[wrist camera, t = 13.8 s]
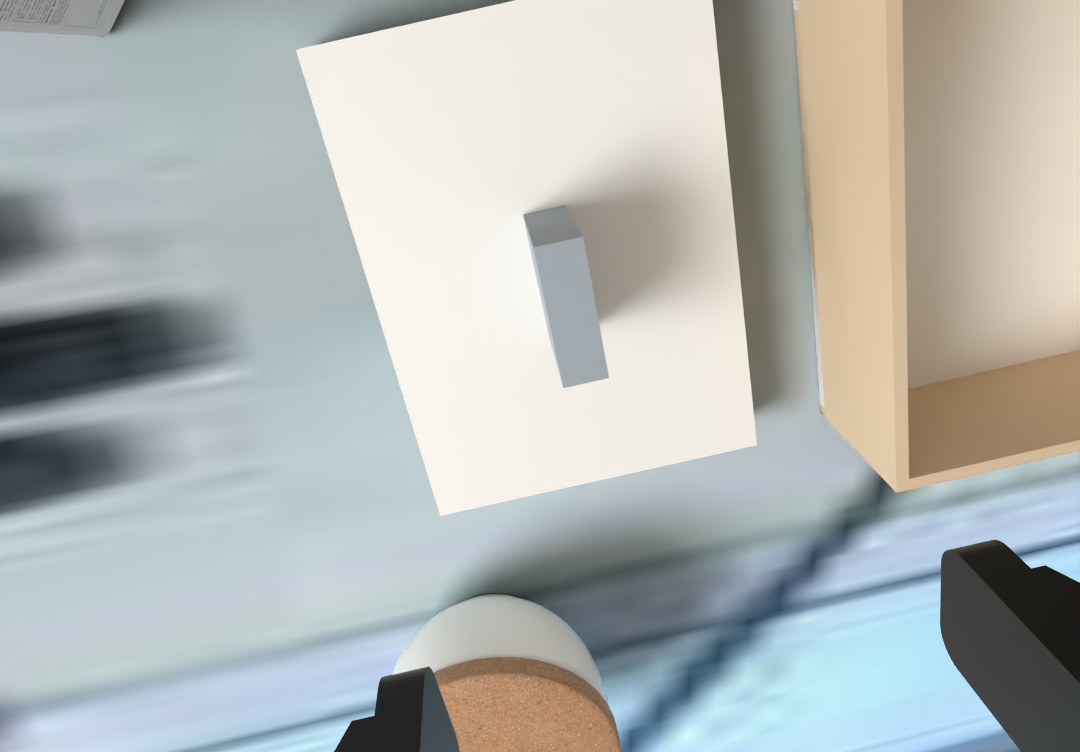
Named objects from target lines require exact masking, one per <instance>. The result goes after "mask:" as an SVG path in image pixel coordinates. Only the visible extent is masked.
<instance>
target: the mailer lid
mask: <svg viewBox="0 0 1080 752" xmlns="http://www.w3.org/2000/svg"><path fill="white" fill-rule="evenodd" d="M296 51H297V55H298V58H299V61H300V64H301V68H302V71H303V74H304V77H305V80H306V84H307V87H308V90H309V93H310V97H311V100H312V103H313V106H314V110H315V113H316V116H317V119H318V122H319V126H320V129H321V132H322V135H323V139H324V142H325V145H326V148H327V152H328V155H329V158H330V161H331V164H332V168H333V171H334V174H335V177H336V181H337V184H338V187H339V190H340V193H341V197H342V200H343V203H344V206H345V210H346V213H347V216H348V219H349V223H350V226H351V229H352V232H353V235H354V239H355V242H356V245H357V248H358V252H359V255H360V258H361V261H362V265H363V268H364V271H365V274H366V277H367V281H368V284H369V287H370V290H371V294H372V297H373V300H374V303H375V306H376V310H377V313H378V316H379V319H380V323H381V326H382V329H383V332H384V336H385V339H386V342H387V345H388V348H389V352H390V355H391V358H392V361H393V365H394V368H395V371H396V374H397V378H398V381H399V384H400V387H401V390H402V394H403V397H404V400H405V403H406V407H407V410H408V413H409V416H410V419H411V423H412V426H413V429H414V432H415V436H416V439H417V442H418V445H419V449H420V452H421V455H422V458H423V461H424V465H425V468H426V471H427V474H428V478H429V481H430V484H431V487H432V490H433V494H434V497H435V500H436V503H437V507H438V510H439V513H440V516H442V515H446V514H451V513H455V512H460V511H464V510H469V509H473V508H478V507H482V506H487V505H491V504H496V503H500V502H505V501H509V500H514V499H518V498H522V497H527V496H531V495H536V494H540V493H545V492H549V491H554V490H558V489H563V488H567V487H572V486H576V485H581V484H585V483H590V482H594V481H599V480H603V479H608V478H612V477H617V476H621V475H625V474H630V473H634V472H639V471H643V470H648V469H652V468H657V467H661V466H666V465H670V464H675V463H679V462H684V461H688V460H693V459H697V458H702V457H706V456H711V455H715V454H720V453H724V452H728V451H733V450H737V449H742V448H746V447H751V446H755V445H757V441H756V431H755V421H754V411H753V401H752V391H751V381H750V371H749V361H748V351H747V341H746V331H745V321H744V311H743V301H742V291H741V281H740V271H739V261H738V251H737V241H736V231H735V221H734V211H733V201H732V191H731V181H730V171H729V161H728V151H727V141H726V131H725V121H724V111H723V101H722V91H721V81H720V71H719V61H718V51H717V41H716V31H715V20H714V10H713V0H514V1H510V2H506V3H501V4H497V5H492V6H488V7H483V8H479V9H474V10H470V11H465V12H461V13H457V14H452V15H448V16H443V17H439V18H434V19H430V20H425V21H421V22H417V23H412V24H408V25H403V26H399V27H394V28H390V29H385V30H381V31H377V32H372V33H368V34H363V35H359V36H354V37H350V38H345V39H341V40H336V41H332V42H328V43H323V44H319V45H314V46H310V47H305V48H301V49H296Z"/></svg>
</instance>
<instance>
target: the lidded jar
mask: <svg viewBox="0 0 1080 752" xmlns="http://www.w3.org/2000/svg"><path fill="white" fill-rule="evenodd" d="M424 667H430V668H431V669H432V671H433V673H434V675H435V678H436V681H437V684H438V686H439V689H440V692H441V695H442V697H443V700H444V703H445V706H446V708H447V711H448V714H449V717H450V719H451V722H452V725H453V728H454V730H455V733H456V737H457V740H458V745H459V750H460V752H621V749H620V740H619V735H618V731H617V727H616V723H615V720H614V716H613V714H612V712H611V710H610V707H609V703H608V699H607V696H606V692H605V688H604V684H603V681H602V679H601V676H600V674H599V671H598V669H597V666H596V664H595V662H594V660H593V658H592V656H591V654H590V653H589V651H588V649H587V647H586V645H585V644H584V642H583V641H582V640H581V639H580V637H579V636H578V635H577V633H576V632H575V631H574V630H573V629H572V628H571V627H570V626H569V625H568V624H567V623H566V622H565V621H564V620H563V619H562V618H561V617H559V616H557V615H556V614H554V613H553V612H551V611H550V610H548V609H547V608H545V607H543V606H541V605H539V604H536V603H534V602H532V601H528V600H525V599H521V598H518V597H514V596H511V595H504V594H487V595H480V596H476V597H472V598H470V599H467V600H464V601H462V602H460V603H458V604H455V605H453V606H451V607H449V608H447V609H445V610H443V611H442V612H440V613H439V614H437V615H436V616H435V617H433V618H432V619H431V620H429V621H428V622H427V623H426V624H424V625H423V626H422V627H421V628H420V629H419V630H418V632H417V633H416V634H415V635H414V636H413V638H412V639H411V640H410V642H409V643H408V645H407V646H406V647H405V649H404V650H403V652H402V653H401V655H400V657H399V659H398V662H397V664H396V666H395V668H394V671H393V673H392V675H394V674H398V673H402V672H407V671H411V670H416V669H420V668H424Z"/></svg>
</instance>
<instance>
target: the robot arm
mask: <svg viewBox="0 0 1080 752" xmlns="http://www.w3.org/2000/svg"><path fill="white" fill-rule="evenodd" d="M940 627H941V633H942V638H943V641H944V644H945V647H946V649H947V651H948V654H949V656H950V658H951V660H952V661H953V663H954V665H955V666H956V667H957V669H958V670H959V672H960V673H961V674H962V675H963V677H964V678H965V679H966V681H967V682H968V683H969V685H970V686H971V687H972V688H973V690H974V691H975V692H976V694H977V695H978V696H979V697H980V699H981V700H982V701H983V703H984V704H985V705H986V707H987V708H988V709H989V710H990V712H991V713H992V714H993V716H994V717H995V718H996V720H997V721H998V722H999V723H1000V725H1001V726H1002V727H1003V729H1004V730H1005V731H1006V733H1007V734H1008V735H1009V736H1010V738H1011V739H1012V740H1013V742H1014V743H1015V744H1016V746H1017V747H1018V748H1019V749H1020V751H1021V752H1080V583H1079V582H1077V581H1075V580H1073V579H1071V578H1069V577H1067V576H1065V575H1063V574H1061V573H1059V572H1057V571H1055V570H1053V569H1051V568H1049V567H1047V566H1041V567H1037V568H1032V569H1031V568H1030V567H1029V566H1028V565H1027V564H1026V563H1025V562H1023V561H1022V560H1021V559H1020V558H1019V557H1018V556H1017V555H1016V554H1015V553H1014V552H1013V551H1012V550H1011V549H1010V548H1009V547H1008V546H1006V545H1005V544H1004V543H1002V542H1001V541H998V540H991V541H987V542H982V543H978V544H973V545H969V546H965V547H960V548H956V549H951V550H947V551H945V552H944V554H943V555H942V560H941V609H940ZM334 752H460V750H459V745H458V740H457V737H456V733H455V730H454V728H453V725H452V722H451V719H450V717H449V714H448V711H447V708H446V706H445V703H444V700H443V697H442V695H441V692H440V689H439V686H438V684H437V681H436V678H435V675H434V673H433V671H432V669H431V668H430V667H424V668H420V669H416V670H411V671H407V672H402V673H398V674H394V675H389V676H385V677H382V678H381V680H380V682H379V687H378V694H377V701H376V709H375V716H372V717H368V718H363V719H359V720H354V721H352V722H351V724H350V725H349V727H348V729H347V730H346V732H345V734H344V736H343V737H342V739H341V741H340V743H339V744H338V746H337V748H336V750H335V751H334Z"/></svg>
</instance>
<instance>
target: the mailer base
mask: <svg viewBox="0 0 1080 752" xmlns="http://www.w3.org/2000/svg"><path fill="white" fill-rule="evenodd" d="M793 7H794V22H795V37H796V52H797V67H798V82H799V97H800V112H801V126H802V141H803V156H804V171H805V186H806V201H807V216H808V231H809V246H810V261H811V276H812V291H813V306H814V321H815V336H816V350H817V365H818V380H819V395H820V410H821V414H822V415H823V416H824V417H825V418H826V419H827V420H828V421H829V422H830V423H831V424H832V425H833V426H834V427H835V428H836V429H837V431H838V432H839V433H840V434H841V435H842V436H843V437H844V438H845V439H846V440H847V441H848V442H849V443H850V444H851V445H852V446H853V447H854V448H855V449H856V451H857V452H858V453H859V454H860V455H861V456H862V457H863V458H864V459H865V460H866V461H867V462H868V463H869V464H870V465H871V466H872V467H873V468H874V469H875V471H876V472H877V473H878V474H879V475H880V476H881V477H882V478H883V479H884V480H885V481H886V482H887V483H888V484H889V485H890V486H891V487H892V488H893V489H894V491H895V492H896V493H897V492H902V491H906V490H911V489H915V488H919V487H924V486H928V485H932V484H937V483H941V482H946V481H950V480H954V479H959V478H963V477H967V476H972V475H976V474H980V473H985V472H989V471H994V470H998V469H1002V468H1007V467H1011V466H1015V465H1020V464H1024V463H1028V462H1033V461H1037V460H1042V459H1046V458H1050V457H1055V456H1059V455H1063V454H1068V453H1072V452H1077V451H1080V0H793Z"/></svg>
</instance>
